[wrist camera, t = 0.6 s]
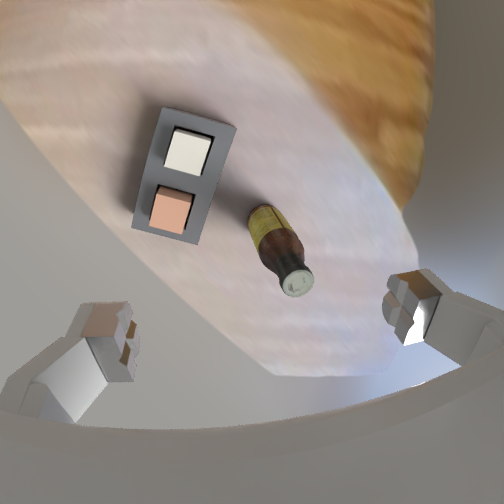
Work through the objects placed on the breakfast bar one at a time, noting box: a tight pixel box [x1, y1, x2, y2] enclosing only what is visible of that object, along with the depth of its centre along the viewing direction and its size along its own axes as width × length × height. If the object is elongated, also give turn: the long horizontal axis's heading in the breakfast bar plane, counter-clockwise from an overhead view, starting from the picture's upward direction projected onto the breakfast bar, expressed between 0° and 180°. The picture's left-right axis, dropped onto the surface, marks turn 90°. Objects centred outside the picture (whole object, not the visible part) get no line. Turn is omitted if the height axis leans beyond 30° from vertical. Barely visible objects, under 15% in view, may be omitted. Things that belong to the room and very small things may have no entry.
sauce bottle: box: [248, 205, 314, 297], centre depth 44 cm, size 6×6×20 cm
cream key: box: [164, 129, 211, 176], centre depth 39 cm, size 5×5×4 cm
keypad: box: [131, 107, 237, 245], centre depth 44 cm, size 19×11×5 cm, turn 160°
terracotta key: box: [149, 186, 192, 234], centre depth 43 cm, size 5×5×4 cm
